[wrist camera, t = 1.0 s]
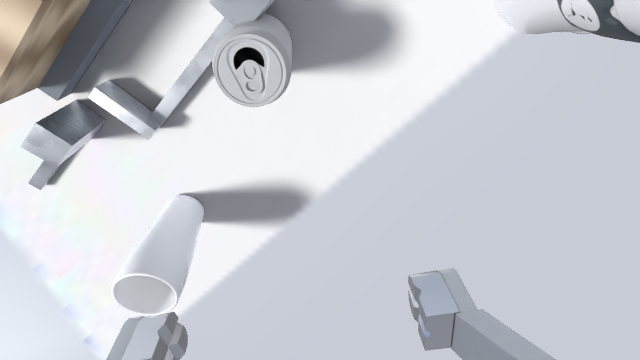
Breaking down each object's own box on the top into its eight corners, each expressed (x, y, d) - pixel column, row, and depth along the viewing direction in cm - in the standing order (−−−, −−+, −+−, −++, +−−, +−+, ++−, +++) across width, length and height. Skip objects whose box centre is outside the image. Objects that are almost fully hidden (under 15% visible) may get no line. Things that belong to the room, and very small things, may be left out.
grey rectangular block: (209, -74, 30) (185, -86, 24) (276, -3, 33) (269, 1, 27) (103, 89, 37) (63, 110, 31) (165, 134, 40) (141, 161, 34)
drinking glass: (152, 193, 45) (95, 279, 32) (199, 184, 45) (161, 267, 32) (173, 230, 49) (130, 320, 36) (217, 222, 48) (189, 310, 36)
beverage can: (288, 9, 34) (285, 23, 24) (295, 72, 37) (295, 108, 27) (227, 15, 34) (198, 31, 24) (240, 77, 37) (219, 115, 27)
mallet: (76, 99, 38) (35, 123, 32) (105, 119, 39) (72, 145, 33) (26, 173, 42) (-18, 206, 36) (54, 189, 44) (16, 222, 38)
